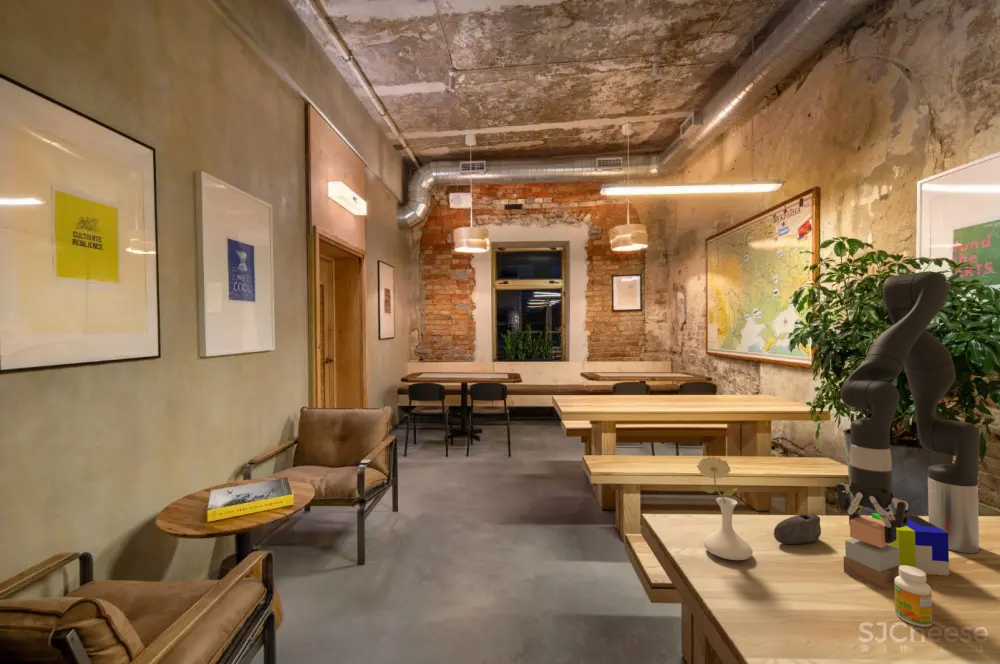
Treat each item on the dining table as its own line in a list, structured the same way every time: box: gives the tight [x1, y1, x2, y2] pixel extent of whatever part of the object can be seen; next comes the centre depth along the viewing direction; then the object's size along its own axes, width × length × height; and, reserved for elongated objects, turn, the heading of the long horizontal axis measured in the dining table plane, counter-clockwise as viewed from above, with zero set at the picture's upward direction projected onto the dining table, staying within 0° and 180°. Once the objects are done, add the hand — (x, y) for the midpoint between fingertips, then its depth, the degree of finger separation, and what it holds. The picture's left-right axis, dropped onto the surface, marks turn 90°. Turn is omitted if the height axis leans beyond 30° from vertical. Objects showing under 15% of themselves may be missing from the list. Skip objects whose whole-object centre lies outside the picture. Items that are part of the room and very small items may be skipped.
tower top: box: [845, 537, 899, 572], centre depth 101 cm, size 7×7×4 cm
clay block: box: [849, 514, 894, 548], centre depth 102 cm, size 6×6×4 cm
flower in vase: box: [696, 455, 754, 561], centre depth 114 cm, size 13×11×25 cm
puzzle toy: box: [871, 512, 950, 576], centre depth 107 cm, size 10×10×10 cm
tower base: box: [843, 555, 902, 591], centre depth 101 cm, size 8×8×4 cm
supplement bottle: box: [894, 565, 933, 628], centre depth 87 cm, size 5×5×10 cm
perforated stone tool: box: [773, 513, 822, 545], centre depth 119 cm, size 15×5×7 cm, turn 102°
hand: (871, 535), depth 102 cm, fingers closed on clay block, 6 cm apart
